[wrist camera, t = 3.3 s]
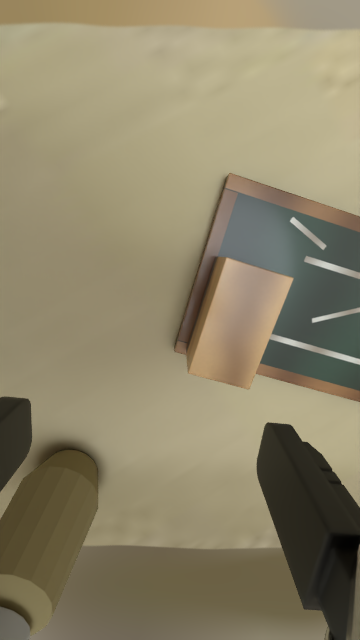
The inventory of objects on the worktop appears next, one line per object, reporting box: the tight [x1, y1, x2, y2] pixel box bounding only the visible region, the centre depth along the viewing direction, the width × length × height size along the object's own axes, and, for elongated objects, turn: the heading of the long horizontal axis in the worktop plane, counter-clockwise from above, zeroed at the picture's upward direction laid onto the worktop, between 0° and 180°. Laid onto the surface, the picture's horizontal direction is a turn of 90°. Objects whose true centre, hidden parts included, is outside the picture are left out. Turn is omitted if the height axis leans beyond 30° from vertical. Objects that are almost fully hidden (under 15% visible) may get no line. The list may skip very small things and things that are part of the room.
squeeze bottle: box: [0, 450, 98, 640], centre depth 20 cm, size 8×8×18 cm
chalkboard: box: [174, 173, 360, 402], centre depth 24 cm, size 22×16×1 cm
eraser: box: [186, 257, 294, 389], centre depth 21 cm, size 5×9×5 cm, turn 164°
